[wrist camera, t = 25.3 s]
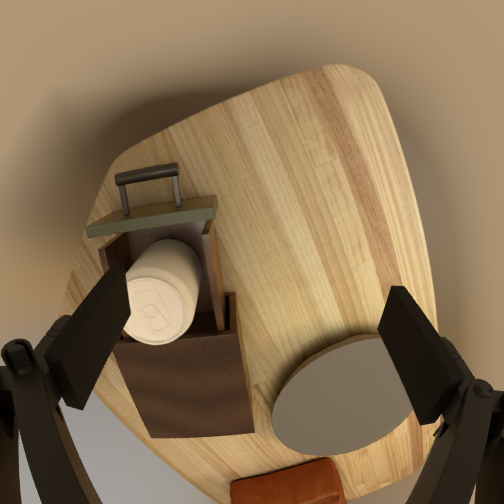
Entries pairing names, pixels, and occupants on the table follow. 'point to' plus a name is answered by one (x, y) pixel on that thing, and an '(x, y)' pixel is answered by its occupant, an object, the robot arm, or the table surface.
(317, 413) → the flat disc
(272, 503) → the bread
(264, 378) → the table surface
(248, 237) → the table surface
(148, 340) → the beverage can
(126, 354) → the cabinet
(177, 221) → the drawer
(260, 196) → the table surface
